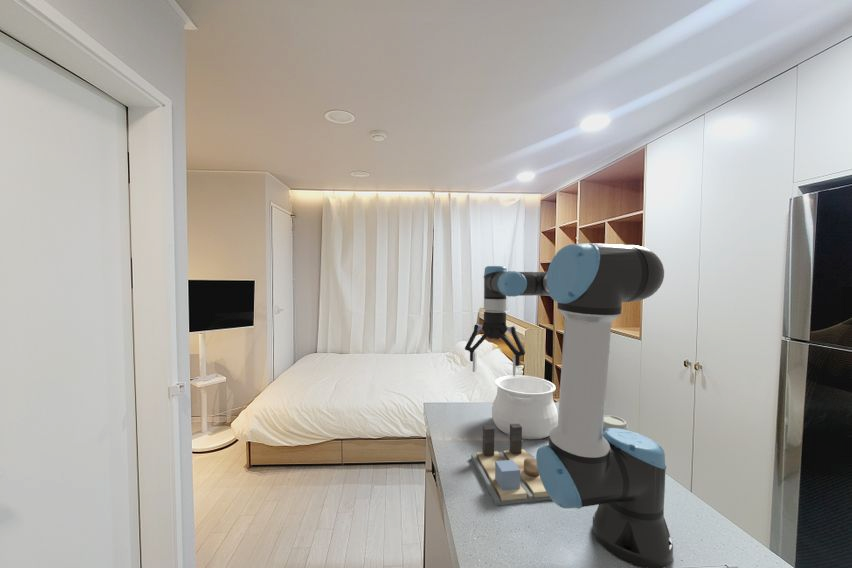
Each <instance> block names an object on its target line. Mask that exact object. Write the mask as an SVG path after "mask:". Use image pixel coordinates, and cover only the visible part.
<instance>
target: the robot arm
mask: <svg viewBox="0 0 852 568" xmlns="http://www.w3.org/2000/svg"><path fill="white" fill-rule="evenodd" d="M483 272H484V273H483V274H484V275H483V311H484V312H483V323H482V324H479V323H476V324H474V326H473V332H472V333H471V335H470V337H469V339H468V342H467V343H466V345H465V346H464V351H468V352H469V361H470V362H472V372H474V373H475V372H476V371H477V370H478V369H477V367H478V366H477V361H478V359H477V358H478V357H477V356H478V352H477V351H476V350H477V349H478V347H479V346H480V345H481V344H482V343H483V342H484V341H485V340H486V339H487V338H488V339H496V340H499V339H500V340H502V341H503V342H504V343H505V345H506V346H507V347H508V348H509V349H510V350H511V352H512V353H513V356H512V375H513V376H516V375H517V367H519V366H520V362H521V360H520V359H521V356H524V355H525V354H526V350H525V348H524V346H523V344H522V342H521V340H520V337H519V336H518V333H517V327H516V325H513V326H507V313H506V311H507V297H519V296H524V297H525V296H542V297H543V296H544V297H545V296H549V297H550V298H551V299H552V300H553V301H554V302H556V303H557V307H556V308H557V311H558V312H559V313H560V314H561V315H562V316H563V319H564V321H563V323H564V324H563V334H562V335H563V337H562V352H561V365H560V366H561V367H560V371H561V372H560V383H559V395H558V396H559V397H558V399H559V400H558V411H557V412H558V425H557V426H556V427H554V428H553V429H551V431H550V434H549V436H548V445H547V444H543V445H542V446H540V447H538V449H537V451H536V456H535V459H536V461H537V468H538V472H539V475H540V478H541V481H542V483H543V486H544V488H545V490H546V492H547V493H548V495H549V496H550V498H551V499H552V500H551V501H552V502H554V504H555V505H557V506H558V507H560V508H562V509H582V508H584V507H585V508H586V507H591V506H597V509H596V510H595V511H594V514H593V516H592V533H593V536H594V537H595V539H596V540H597V542H598V543H599V545H600V546H601V547H603V548H604V550H606V551H607V552H608V553H610V555H613V557H615V558H617V559H619V560H621V561H623V562H625V563H627V564H630V565H632V566H635V567H639V568H666V567H667V566H670V564H671V563H672V561H673V558H674V544H673V541H672V538H671V535H670V531H669V528H668V525H667V522H666V518H665V511H664V509H665V508H664V507H665V492H666V491H665V490H666V489H665V488H666V487H665V486H666V469H667V466H666V455H665V451H664V449H663V447H662V446H661V445H660V444H659V443H657V442H656V441H654V440H653V439H651V438H649V437H647V436H645V435H643V434H641V433H637V432H636V431H631V430H629V429H628V430H624V429H619V428H608V429H606V430H605V431H604V433H603V423H604V415H605V410H606V409H605V408H606V397H607V395H606V394H607V383H608V373H609V372H608V370H609V357H610V345H611V334H612V333H611V332H612V322H613V321H615V320H616V319H617V318H619V317H620V316H621V315H622V306H623V303H633V302H639V301H642V300H645V299H647V298H650V297H652V296H653V295H655V293H657V292H658V290H659V289H660V288H661V286H662V284H663V282H664V278H665V268H664V264H663V262H662V260H661V259H660V258H659V257H658V255H657V253H655V252H653V251H652V250H650V249H649V248H646V247H644V246H640V245H635V244H610V243H609V244H608V243H589V242H585V243H571V244H568V245H565V246H563V247H561V248H560V249H559V250H558V251H557V252H556V254H555V255H554V256H553V258H552V259H551V261H550V264H549V266H548V270H547V271H515V270H513V271H511V270H507V267H506V266H504V265H503V266H502V265H487V266H486V267H484V271H483ZM481 330H482V331H483V332H484V334H483V335H482V336H481V337H480V338H479V339H478V340H477V342H476V343H475V344H473V343H474V341H475V339H476V337H477V335H478V333H479V332H480V331H481ZM506 332H509V333H510V334H511V336H512V338H513V341H514V343H515V344H516V346H515V345H514V344H513V342H512V341H511V340H510V338H508V336H507V335H506ZM472 345H473V346H472ZM516 347H517V348H518V349H517V348H516Z"/></svg>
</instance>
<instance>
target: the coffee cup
mask: <svg viewBox="0 0 852 568" xmlns="http://www.w3.org/2000/svg"><path fill="white" fill-rule="evenodd" d="M608 428H619V429H624V430H629V426H628V424H627V421H626V420H624V419H623V418H621V417H619V416H616V415H609V414H607V415H605V414H604V423H603V433H604V431H605V430H606V429H608Z"/></svg>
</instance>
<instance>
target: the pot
mask: <svg viewBox="0 0 852 568" xmlns="http://www.w3.org/2000/svg"><path fill="white" fill-rule="evenodd" d="M494 385H495V386H496V387H497V392H496V395H495V398H494V400H493V403H492V406H491V416H492V417H491V418H492V421H493V423H494V425H495V426H496V427H497V428H498V429H499V430H500V431H501V432H503V433H505V434H507V435H508V436H510V424H520V425H521V427H522V440H523V439H524V440H541V439H545V438H547V437H548V438H549V434H550V431H551V429H553V428H554V427H556V426H558V412H559V411H558V409H557V406H556V404H555V400H554V396H553V395H554V392H555V391H556V389H557V388H556V385H555V384H554V383H553V382H551V381H549V380H547V379H545V378H544V379H543V378H541V377H536V376H531V375H524V374H523V375H522V374H521V375H520V374H516V376H513V374H509V375H504V376H500V377H498V378H496V379H495V381H494Z"/></svg>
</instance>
